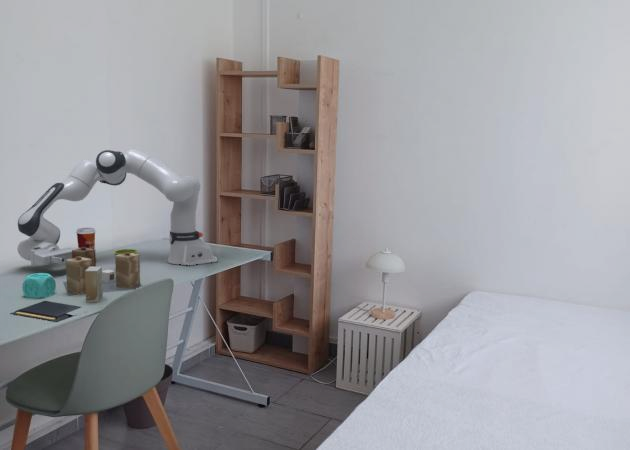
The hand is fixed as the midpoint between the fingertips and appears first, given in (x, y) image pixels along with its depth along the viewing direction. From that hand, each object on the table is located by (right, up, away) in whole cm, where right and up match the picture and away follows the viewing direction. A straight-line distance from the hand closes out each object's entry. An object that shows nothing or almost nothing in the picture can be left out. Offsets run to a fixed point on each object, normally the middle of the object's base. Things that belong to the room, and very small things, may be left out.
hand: (72, 258), depth 243 cm
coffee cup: (-4, -3, +27) cm, 28 cm away
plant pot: (+18, -7, +13) cm, 23 cm away
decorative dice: (-1, -13, -26) cm, 29 cm away
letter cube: (+17, -9, -7) cm, 20 cm away
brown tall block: (+26, -10, -12) cm, 30 cm away
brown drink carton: (+5, -8, -1) cm, 10 cm away
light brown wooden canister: (+11, -11, -21) cm, 26 cm away
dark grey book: (+9, -16, -42) cm, 46 cm away
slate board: (+17, -11, -12) cm, 23 cm away
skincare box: (+20, -14, -30) cm, 39 cm away
